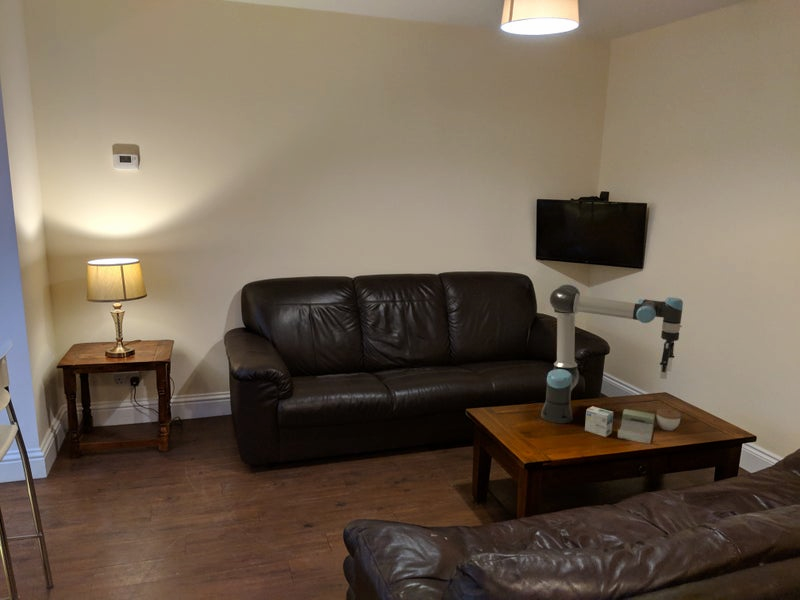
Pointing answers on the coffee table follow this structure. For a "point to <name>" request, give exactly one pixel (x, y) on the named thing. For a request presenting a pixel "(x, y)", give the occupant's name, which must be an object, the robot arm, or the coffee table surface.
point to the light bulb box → (599, 421)
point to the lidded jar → (668, 418)
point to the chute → (635, 431)
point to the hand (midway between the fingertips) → (665, 374)
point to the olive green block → (638, 416)
